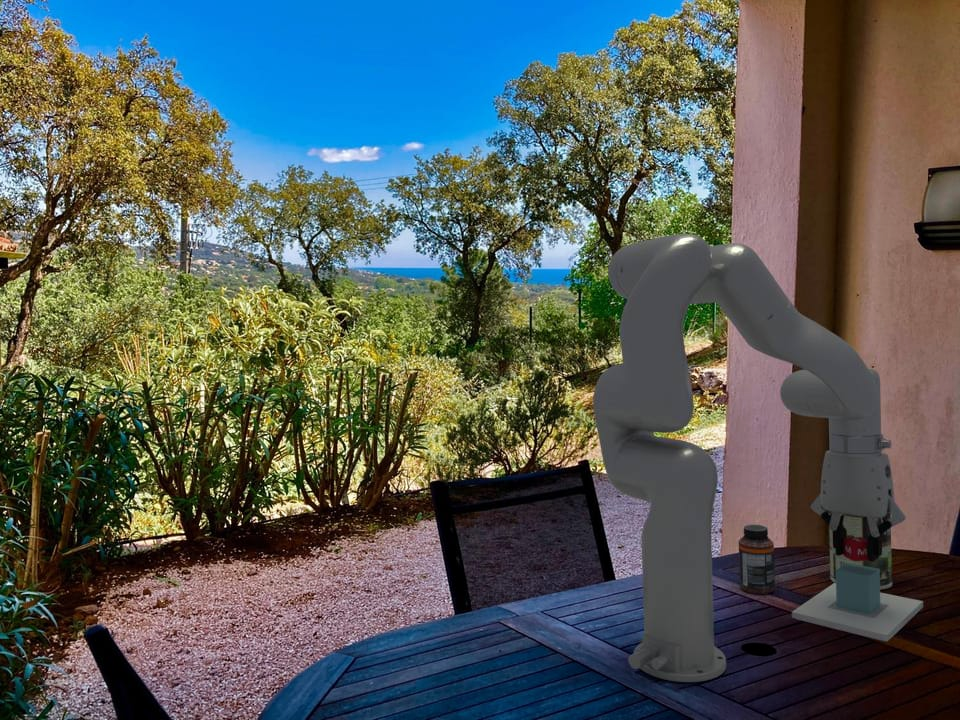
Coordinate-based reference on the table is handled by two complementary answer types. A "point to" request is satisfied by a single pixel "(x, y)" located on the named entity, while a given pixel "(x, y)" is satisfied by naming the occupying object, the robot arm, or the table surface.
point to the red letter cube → (855, 548)
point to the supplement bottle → (756, 560)
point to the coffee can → (861, 528)
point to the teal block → (858, 588)
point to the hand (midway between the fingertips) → (857, 555)
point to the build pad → (859, 614)
